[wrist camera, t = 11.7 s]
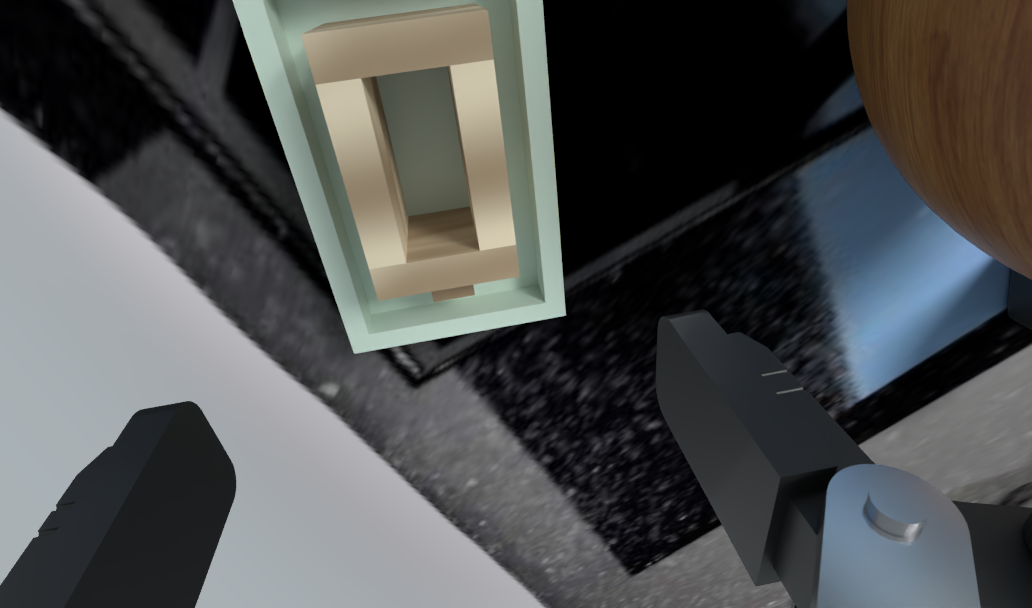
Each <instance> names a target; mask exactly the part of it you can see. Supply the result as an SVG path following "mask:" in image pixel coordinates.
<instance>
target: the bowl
mask: <svg viewBox="0 0 1032 608" xmlns="http://www.w3.org/2000/svg"><path fill="white" fill-rule="evenodd" d="M847 24H848V37H849V45H850V53H851V58H852V63H853V68H854V73H855V78H856V82H857V85H858V89H859V93H860V96H861V98H862V101H863V104H864V107H865V109H866V112H867V115H868V117H869V120H870V122H871V124H872V127H873V129H874V131H875V133H876V135H877V137H878V139H879V141H880V142H881V144H882V146H883V148H884V150H885V151H886V153H887V155H888V156H889V158H890V160H891V161H892V163H893V164H894V165H895V167H896V168H897V170H898V171H899V172H900V174H901V175H902V176H903V178H904V179H905V181H906V182H907V183H908V185H909V186H910V187H911V188H912V189H913V190H914V191H915V192H916V194H917V195H918V196H919V197H920V198H921V199H922V200H923V201H924V202H925V204H926V205H927V206H928V207H929V208H930V209H931V210H932V211H933V212H935V213H936V214H937V215H938V216H939V217H940V218H941V219H942V220H943V221H944V222H946V223H947V224H948V225H949V226H950V227H951V228H952V229H953V230H955V231H956V232H957V233H958V234H960V235H961V236H962V237H964V238H965V239H966V240H968V241H969V242H970V243H972V244H973V245H975V246H976V247H977V248H979V249H980V250H982V251H983V252H985V253H986V254H988V255H989V256H991V257H992V258H994V259H996V260H997V261H999V262H1000V263H1002V264H1004V265H1005V266H1007V267H1009V268H1011V269H1013V270H1014V271H1016V272H1018V273H1020V274H1022V275H1024V276H1025V277H1027V278H1029V279H1031V280H1032V0H847Z"/></svg>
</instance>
